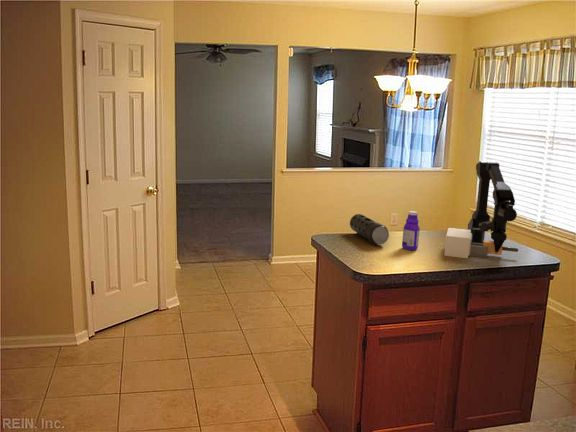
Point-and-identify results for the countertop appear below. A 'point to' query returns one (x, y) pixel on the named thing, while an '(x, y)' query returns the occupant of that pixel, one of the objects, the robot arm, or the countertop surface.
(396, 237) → the countertop surface
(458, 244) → the socket box
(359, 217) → the muzzle brake
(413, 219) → the bottle
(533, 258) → the countertop surface
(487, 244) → the plug
